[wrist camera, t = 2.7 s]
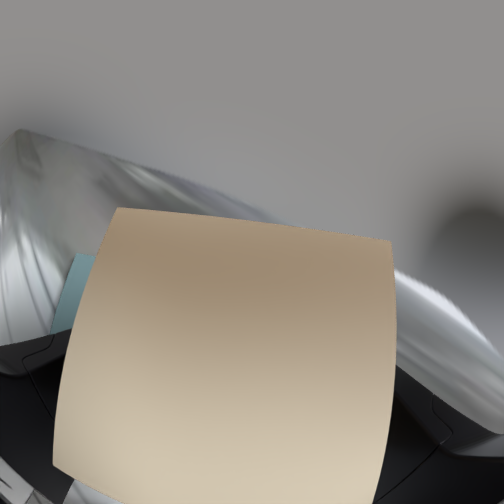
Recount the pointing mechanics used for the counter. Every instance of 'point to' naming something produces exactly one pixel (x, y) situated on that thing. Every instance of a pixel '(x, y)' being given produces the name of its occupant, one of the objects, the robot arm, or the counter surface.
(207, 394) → the maple block
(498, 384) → the counter surface
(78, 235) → the counter surface
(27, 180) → the counter surface
